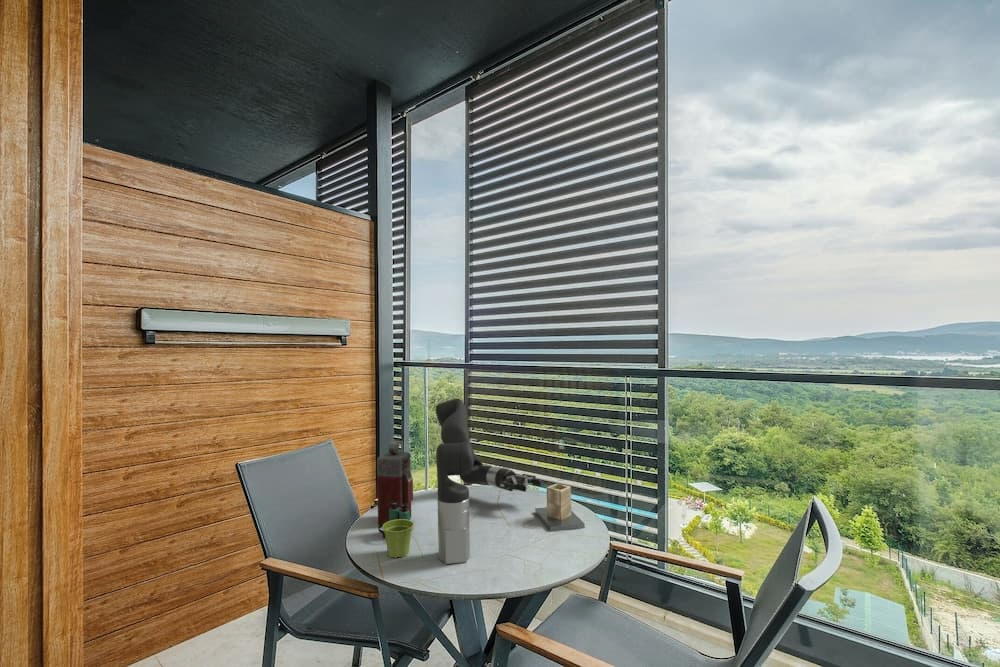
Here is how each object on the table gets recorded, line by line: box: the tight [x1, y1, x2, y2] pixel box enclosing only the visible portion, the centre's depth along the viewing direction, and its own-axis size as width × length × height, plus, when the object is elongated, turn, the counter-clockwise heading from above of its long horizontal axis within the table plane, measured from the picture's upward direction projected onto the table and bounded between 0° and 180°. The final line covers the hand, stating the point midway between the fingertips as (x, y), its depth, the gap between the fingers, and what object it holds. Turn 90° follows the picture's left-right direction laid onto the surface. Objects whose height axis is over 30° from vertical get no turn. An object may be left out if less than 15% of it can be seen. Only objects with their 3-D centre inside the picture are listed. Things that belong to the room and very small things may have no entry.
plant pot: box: [381, 519, 415, 559], centre depth 149 cm, size 9×9×9 cm
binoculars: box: [377, 501, 411, 539], centre depth 162 cm, size 9×11×10 cm
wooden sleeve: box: [546, 483, 572, 520], centre depth 174 cm, size 6×6×10 cm
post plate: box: [534, 506, 586, 532], centre depth 174 cm, size 18×12×8 cm, turn 12°
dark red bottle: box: [376, 440, 414, 526], centre depth 176 cm, size 9×11×28 cm
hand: (533, 485), depth 182 cm, fingers open, 8 cm apart
